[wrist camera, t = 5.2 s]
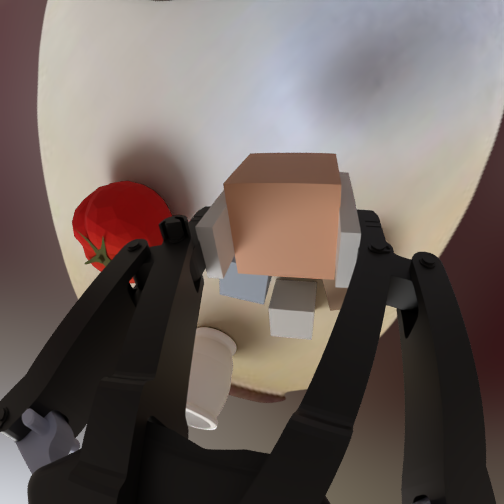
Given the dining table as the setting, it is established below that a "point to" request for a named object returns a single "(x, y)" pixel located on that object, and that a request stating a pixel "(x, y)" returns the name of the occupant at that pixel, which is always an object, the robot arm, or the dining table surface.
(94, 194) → the tomato
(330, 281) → the walnut cube
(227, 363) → the jar
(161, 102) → the dining table surface
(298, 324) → the grey cube
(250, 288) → the slate cube
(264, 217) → the terracotta cube
